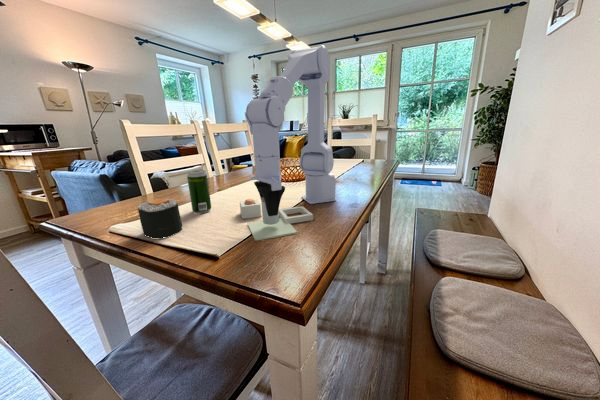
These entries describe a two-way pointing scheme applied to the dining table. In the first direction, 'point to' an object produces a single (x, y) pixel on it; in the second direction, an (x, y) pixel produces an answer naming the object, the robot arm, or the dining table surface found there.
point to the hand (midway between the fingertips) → (270, 212)
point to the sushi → (160, 218)
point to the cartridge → (266, 218)
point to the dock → (295, 219)
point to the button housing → (250, 209)
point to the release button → (249, 201)
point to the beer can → (199, 191)
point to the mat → (270, 229)
